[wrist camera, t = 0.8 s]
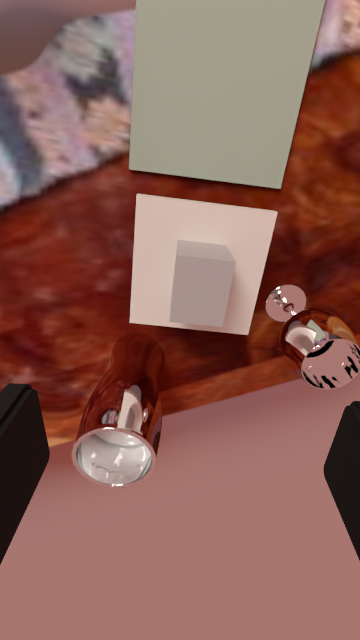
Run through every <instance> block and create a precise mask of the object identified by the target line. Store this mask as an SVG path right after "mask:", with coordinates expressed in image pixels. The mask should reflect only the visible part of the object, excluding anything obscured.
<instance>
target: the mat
mask: <svg viewBox="0 0 360 640" xmlns="http://www.w3.org/2000/svg"><path fill="white" fill-rule="evenodd" d="M324 3H325V0H136V20H135V43H134V66H133V89H132V113H131V136H130V159H129V169H130V170H138V171H146V172H154V173H161V174H169V175H177V176H185V177H192V178H200V179H208V180H215V181H223V182H231V183H239V184H246V185H254V186H262V187H270V188H277V189H281V185H282V180H283V176H284V172H285V168H286V164H287V159H288V155H289V151H290V147H291V142H292V138H293V134H294V130H295V126H296V121H297V117H298V113H299V109H300V105H301V100H302V96H303V92H304V88H305V83H306V79H307V75H308V71H309V67H310V62H311V58H312V54H313V50H314V46H315V41H316V37H317V33H318V29H319V24H320V20H321V16H322V12H323V8H324Z"/></svg>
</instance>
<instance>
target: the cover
mask: <svg viewBox="0 0 360 640" xmlns="http://www.w3.org/2000/svg"><path fill="white" fill-rule="evenodd" d="M277 213H278V212H276V211H272V210H264V209H256V208H248V207H240V206H232V205H225V204H217V203H209V202H201V201H193V200H185V199H177V198H169V197H161V196H153V195H145V194H137V197H136V215H135V234H134V252H133V271H132V289H131V308H130V323H138V324H148V325H157V326H167V327H176V328H186V329H195V330H204V331H214V332H223V333H233V334H242V335H248V333H249V329H250V325H251V321H252V316H253V312H254V308H255V304H256V300H257V296H258V292H259V287H260V283H261V279H262V275H263V271H264V267H265V263H266V258H267V254H268V250H269V246H270V242H271V238H272V233H273V229H274V225H275V221H276V217H277Z"/></svg>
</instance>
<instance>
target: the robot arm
mask: <svg viewBox="0 0 360 640" xmlns="http://www.w3.org/2000/svg"><path fill="white" fill-rule="evenodd" d="M49 453H50V452H49V446H48V442H47V437H46V432H45V427H44V422H43V417H42V413H41V408H40V403H39V398H38V393H37V391H36V390H34V389H32V387H31V386H30V385H29V384H13V383H10V384H8V385H7V386H6V387H5V388H4V389H3V390H2V392H1V393H0V564H1V562H2V560H3V558H4V556H5V553H6V551H7V549H8V547H9V545H10V543H11V541H12V538H13V536H14V534H15V532H16V530H17V528H18V525H19V523H20V521H21V519H22V517H23V515H24V513H25V510H26V508H27V506H28V504H29V502H30V500H31V497H32V495H33V493H34V491H35V489H36V487H37V485H38V482H39V480H40V478H41V476H42V474H43V472H44V470H45V467H46V466H47V463H48V460H49ZM324 476H325V479H326V481H327V484H328V486H329V489H330V491H331V493H332V496H333V498H334V501H335V503H336V505H337V508H338V510H339V512H340V515H341V517H342V519H343V522H344V524H345V527H346V529H347V531H348V534H349V536H350V539H351V541H352V543H353V546H354V548H355V550H356V553H357V555H358V558H359V560H360V401H354V402H352V403H351V405H350V406H346V408H345V409H344V412H343V415H342V418H341V420H340V423H339V426H338V429H337V431H336V435H335V437H334V440H333V443H332V445H331V448H330V451H329V453H328V456H327V459H326V462H325V464H324Z"/></svg>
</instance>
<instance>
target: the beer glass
mask: <svg viewBox="0 0 360 640" xmlns="http://www.w3.org/2000/svg"><path fill="white" fill-rule="evenodd" d="M162 361H163V353H162V350H161V348H160V346H159V344H158V343H157V342H156V341H155V340H154V339H152V338H151V337H149V336H146V335H143V334H129V335H126V336H124V337H122V338H121V339H119V340H118V341H117V342H116V343H115V345H114V347H113V349H112V355H111V366H110V368H109V369H108V371H107V372H106V374H105V375H104V376H103V378H102V379H101V381H100V382H99V384H98V385H97V386H96V388H95V390H94V391H93V393H92V395H91V396H90V398H89V401H88V403H87V405H86V407H85V410H84V413H83V416H82V418H81V421H80V425H79V428H78V432H77V436H76V440H75V443H74V446H73V448H72V454H71V456H72V461H73V464H74V466H75V468H76V469H77V471H78V472H79V473H80V474H81V475H82V476H84V477H85V478H86V479H88V480H90V481H91V482H94V483H96V484H98V485H102V486H106V487H112V488H122V487H130V486H133V485H136V484H139V483H141V482H143V481H144V480H145V479H147V478H148V477H149V476H150V475H151V474H152V472H153V470H154V468H155V465H156V457H157V452H158V447H159V441H160V435H161V426H162V404H161V396H160V390H159V384H158V372H159V370H160V367H161V365H162Z"/></svg>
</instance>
